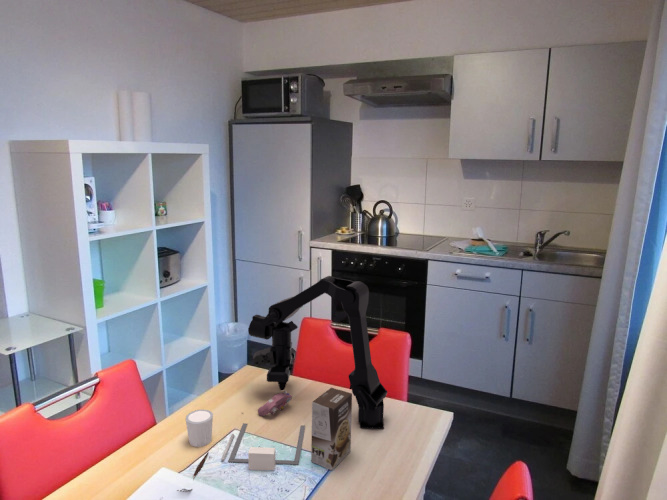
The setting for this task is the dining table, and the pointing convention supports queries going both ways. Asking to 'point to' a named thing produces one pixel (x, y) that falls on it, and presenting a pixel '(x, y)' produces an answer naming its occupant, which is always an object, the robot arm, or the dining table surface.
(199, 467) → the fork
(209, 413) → the grey round cup
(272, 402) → the toy car
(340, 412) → the coffee box
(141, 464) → the dining table surface
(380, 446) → the dining table surface
